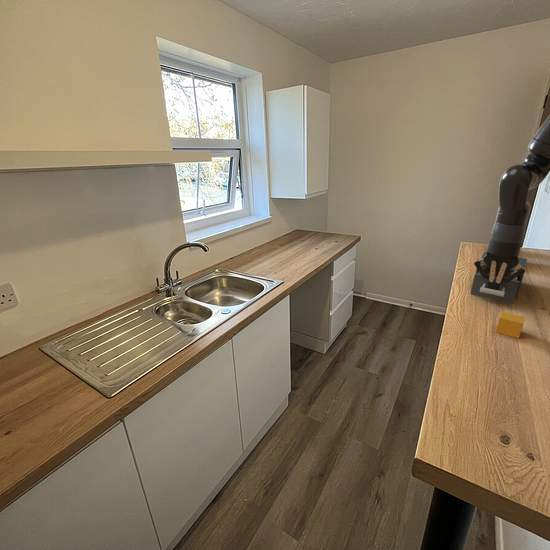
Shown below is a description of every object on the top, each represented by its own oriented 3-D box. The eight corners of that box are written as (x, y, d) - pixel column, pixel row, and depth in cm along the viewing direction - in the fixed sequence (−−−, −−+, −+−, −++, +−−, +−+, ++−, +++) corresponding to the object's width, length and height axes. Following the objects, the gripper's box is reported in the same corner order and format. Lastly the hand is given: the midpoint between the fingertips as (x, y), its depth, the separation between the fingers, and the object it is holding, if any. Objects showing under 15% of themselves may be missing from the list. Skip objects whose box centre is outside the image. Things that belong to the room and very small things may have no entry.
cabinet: (516, 297, 98) (524, 271, 94) (471, 288, 105) (477, 263, 102) (520, 282, 108) (527, 258, 104) (479, 274, 115) (484, 252, 112)
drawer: (511, 311, 88) (517, 289, 85) (466, 301, 95) (471, 280, 92) (516, 288, 102) (522, 268, 99) (477, 280, 109) (481, 261, 106)
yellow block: (520, 330, 81) (524, 316, 79) (518, 338, 78) (523, 323, 76) (497, 325, 84) (501, 310, 82) (495, 332, 81) (499, 317, 79)
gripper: (536, 238, 84) (520, 293, 91) (481, 232, 92) (469, 283, 99) (535, 245, 79) (517, 303, 86) (476, 237, 87) (464, 291, 94)
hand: (491, 292), depth 92 cm, fingers closed
